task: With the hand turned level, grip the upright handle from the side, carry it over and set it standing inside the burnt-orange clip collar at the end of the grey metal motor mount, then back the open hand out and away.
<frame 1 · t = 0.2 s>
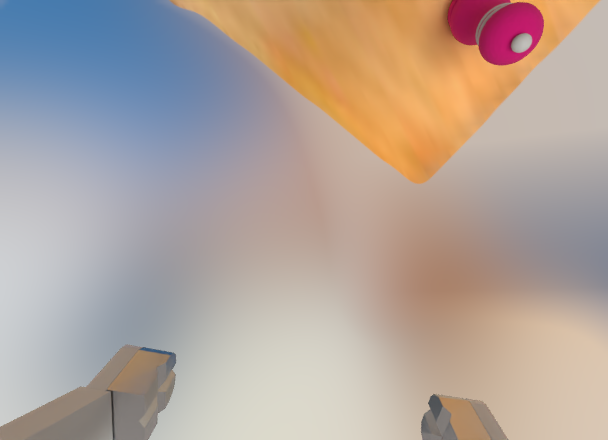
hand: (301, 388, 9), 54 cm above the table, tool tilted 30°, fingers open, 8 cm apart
pepper mill: (469, 9, 44), on the table
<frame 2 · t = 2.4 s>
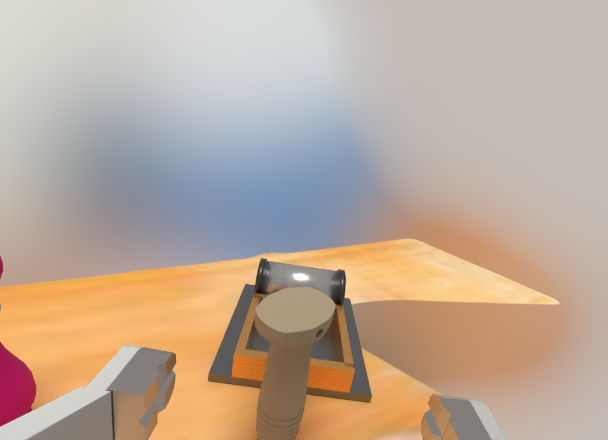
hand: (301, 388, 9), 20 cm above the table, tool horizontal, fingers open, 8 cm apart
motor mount: (292, 351, 38), on the table
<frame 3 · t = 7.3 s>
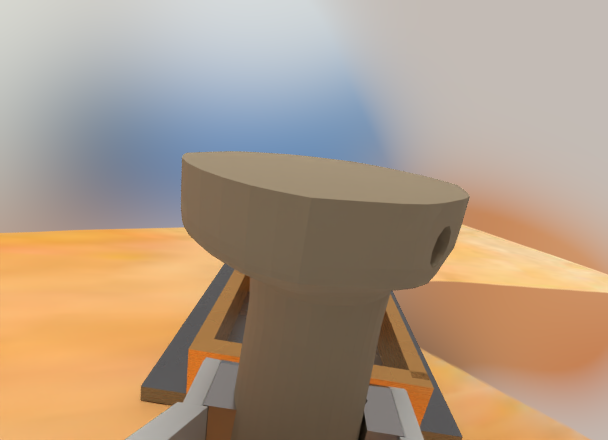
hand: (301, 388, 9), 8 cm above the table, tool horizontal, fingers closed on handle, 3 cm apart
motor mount: (303, 349, 22), on the table
when the fingers open (10 cm above the table, at t = 11.7 s): handle moves 3 cm, resting on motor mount.
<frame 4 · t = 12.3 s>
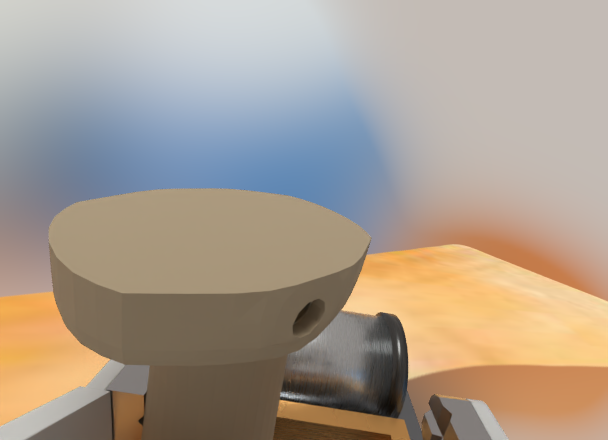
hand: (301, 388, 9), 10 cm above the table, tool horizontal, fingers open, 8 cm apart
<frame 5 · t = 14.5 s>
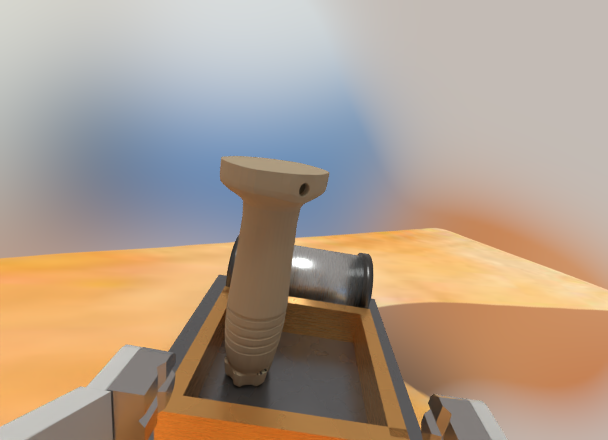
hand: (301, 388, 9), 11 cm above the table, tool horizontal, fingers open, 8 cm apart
handle: (247, 373, 21), point 1 cm above the table, touching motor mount
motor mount: (284, 389, 21), on the table
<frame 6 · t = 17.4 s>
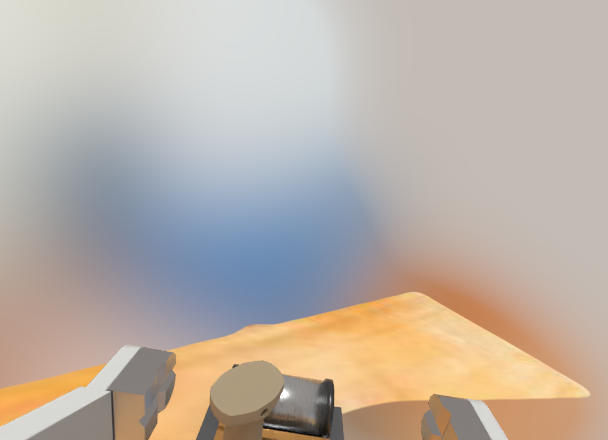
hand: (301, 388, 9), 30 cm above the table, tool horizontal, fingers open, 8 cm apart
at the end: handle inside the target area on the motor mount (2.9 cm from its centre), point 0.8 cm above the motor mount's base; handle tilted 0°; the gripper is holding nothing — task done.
